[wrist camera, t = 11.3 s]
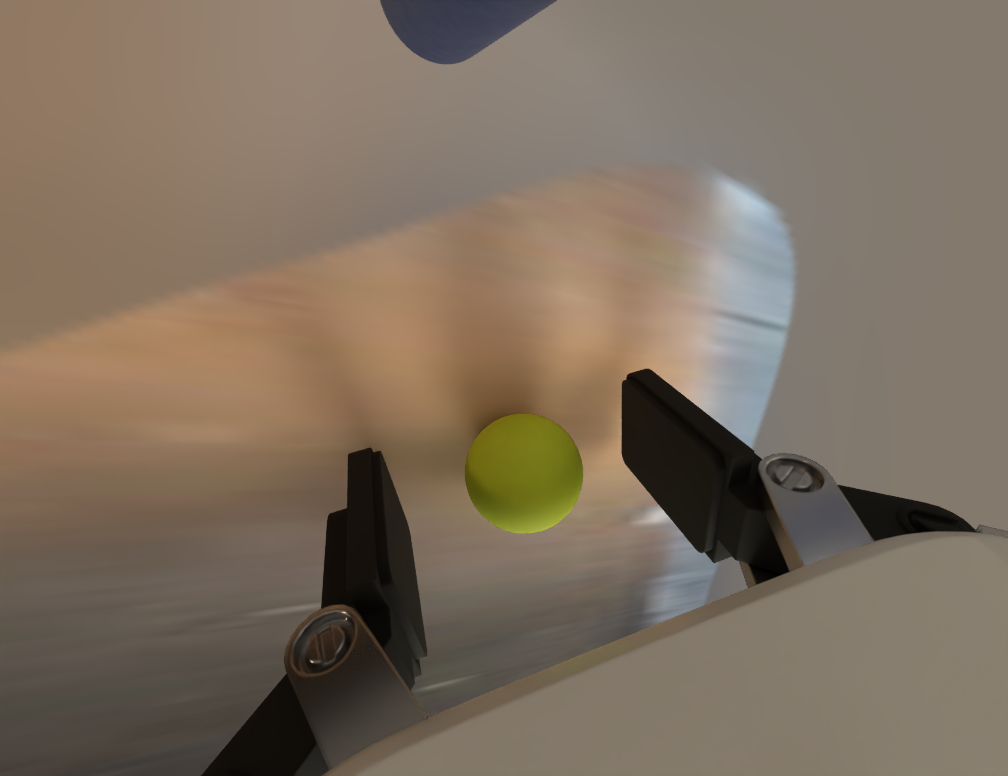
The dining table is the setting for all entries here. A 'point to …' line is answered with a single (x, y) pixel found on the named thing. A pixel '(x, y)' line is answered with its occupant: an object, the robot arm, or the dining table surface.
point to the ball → (524, 473)
